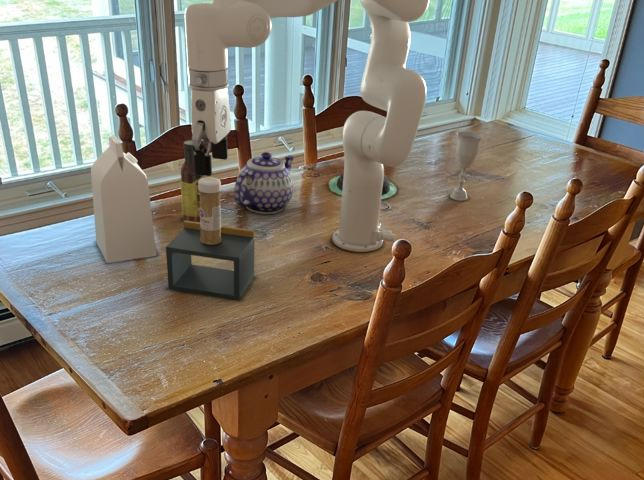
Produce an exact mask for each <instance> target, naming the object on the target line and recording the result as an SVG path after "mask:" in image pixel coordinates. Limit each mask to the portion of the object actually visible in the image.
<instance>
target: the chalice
mask: <svg viewBox="0 0 644 480" xmlns="http://www.w3.org/2000/svg"><path fill="white" fill-rule="evenodd" d="M456 137H457V138H456V139H457V141H456V145H455V146H456V147H455V157H456V161H457V164H458V167H460V169H461V172H460V173H459V177H460V178H459V179H458V184H459V185H458V187H456V188H454V189H453V191H452V192H451V193H450V195H449V197H450V199H452V200H455V201H460V202H462V201H467V200H468V194H467V191H466V189H465V188H464V187H463V186H464V183H465V182H466V181H465V177H466V169H469V168H470V167H471V166H472V165H473V163H474V162H475V160H476V158H477V157H478V155H479V149H480V146H481V145H480V143H481V141H482V139H483V138H484V136H483V134H481V133H479V132H474V131H465V130H463V131H458V132H456Z"/></svg>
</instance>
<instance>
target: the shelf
mask: <svg viewBox="0 0 644 480" xmlns="http://www.w3.org/2000/svg"><path fill="white" fill-rule="evenodd" d="M200 238H201V227H200V222H192V221H185V220H183V228H182V229H181V230H180V231H179V232H178V233H177V234H176V235H175V236H174V237H173V238H172V240H171V241H170V242H169V243H168V244H167V245H166V246H165V255H166V271H167V285H168V290H171V291H177V292H184V293H190V294H195V295H196V294H197V295H203V296H209V297H216V298H221V299H222V298H223V299H228V300H235V301H240V300H241V299H242V297H243V295H245V292H246V291H247V290H248V288H249V286H250V285H251V283H252V282H253V280H254V279H255V230H254V229H250V228H249V229H248V228H240V227H234V226H228V225H221V242H220V243H218V244H216V245H206V244H203V243H202V242H201V240H200ZM192 256H195V257H203V258H209V259H214V260H215V259H216V260H223V261H228V262H233V270H232V269H225V268H218V267H211V266H205V265H197V264H193V263H192Z"/></svg>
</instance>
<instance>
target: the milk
mask: <svg viewBox="0 0 644 480" xmlns="http://www.w3.org/2000/svg"><path fill="white" fill-rule="evenodd" d="M138 162H139V161H138V159H137V158H136V157H135V156H133V154H132V153H131V152H128V151H127V153H125V152H124V150H123V145H122V142H121V141H120V140H119V138H118V137H117V135H115V134H112V135H108V147H107V148H106V149H105V150H104V151H103V152H102V153H101V155H100V156H99V157H98V158H97V159H96V160H95V161H94V162H93V164H92V165H91V168H90V178H91V190H92V191H91V192H92V193H91V194H92V204H93V205H92V206H93V218H94V219H93V220H94V230H95V242H96V244H97V247H98V248H99V250H100V252H101V254H102V257H103V259H104V260H105V262H106V264H111V263H117V262H123V261H130V260H138V259H144V258H150V257H157V248H156V247H157V246H156V239H155V229H154V221H153V213H152V203H151V195H150V187H149V180H148V178H147V174H146V173H145V172H144V171H143V169H142V168H141V167H140V165H139V164H138Z"/></svg>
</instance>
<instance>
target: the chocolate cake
mask: <svg viewBox="0 0 644 480" xmlns="http://www.w3.org/2000/svg"><path fill="white" fill-rule="evenodd" d="M343 178H344V172H343V173H342V174H341V175H338V176H336V177H333V178H331V179H330V180H329V181H328V188H329V189H330V191H331V192H333V193H335V194H337V195H339V196H342V190H343ZM396 193H397V186H395V184H394V183H392V182H391V181H389V179H388V178H387V175H386V174H385V173H384V180H383V187H382V196H381V200H385V199H389V198H391V197H393V196H394V195H396Z"/></svg>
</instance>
